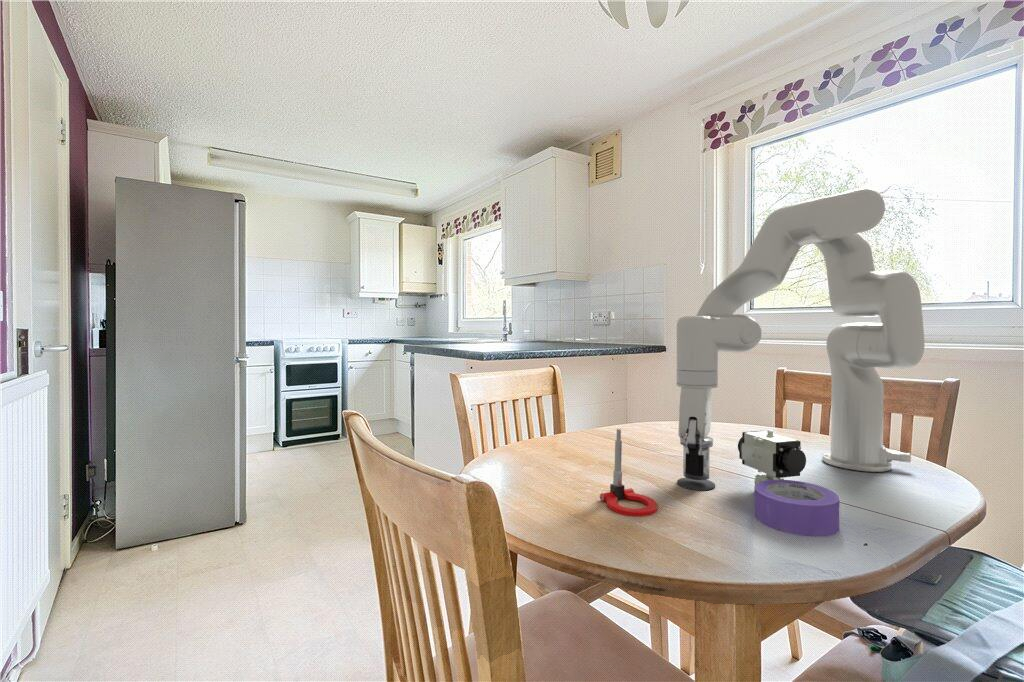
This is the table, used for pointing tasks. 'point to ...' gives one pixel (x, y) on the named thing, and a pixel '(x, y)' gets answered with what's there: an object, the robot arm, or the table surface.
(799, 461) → the pneumatic valve
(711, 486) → the pad
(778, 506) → the tape roll
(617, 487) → the tow hook
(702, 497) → the table surface
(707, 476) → the cylinder
